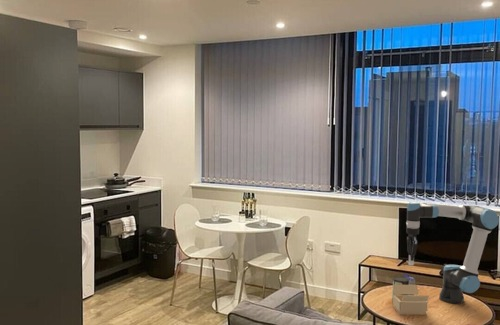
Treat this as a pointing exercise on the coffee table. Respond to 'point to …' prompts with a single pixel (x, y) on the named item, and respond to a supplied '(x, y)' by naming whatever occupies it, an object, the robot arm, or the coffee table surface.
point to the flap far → (405, 289)
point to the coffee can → (399, 283)
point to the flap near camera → (415, 298)
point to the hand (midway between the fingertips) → (411, 265)
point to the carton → (409, 306)
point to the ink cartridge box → (410, 281)
